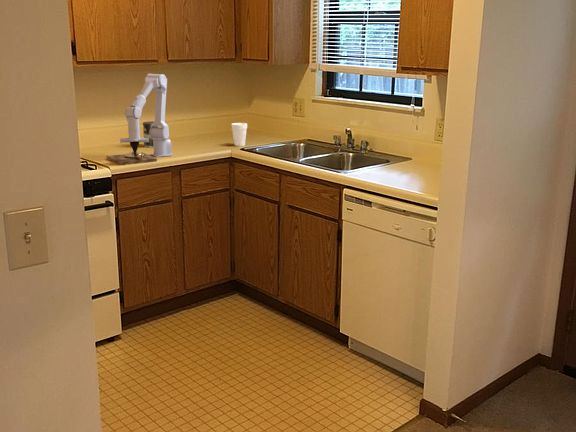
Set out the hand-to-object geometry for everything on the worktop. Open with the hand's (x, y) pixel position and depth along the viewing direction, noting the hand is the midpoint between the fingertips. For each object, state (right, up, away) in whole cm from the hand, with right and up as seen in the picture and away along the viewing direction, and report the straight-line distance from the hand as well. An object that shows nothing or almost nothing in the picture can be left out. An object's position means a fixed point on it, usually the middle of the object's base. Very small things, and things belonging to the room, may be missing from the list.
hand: (135, 156), depth 322 cm
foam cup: (+50, +12, +53) cm, 74 cm away
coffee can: (-1, +10, +47) cm, 48 cm away
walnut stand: (-3, -1, +6) cm, 7 cm away
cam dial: (-1, 0, +6) cm, 6 cm away
